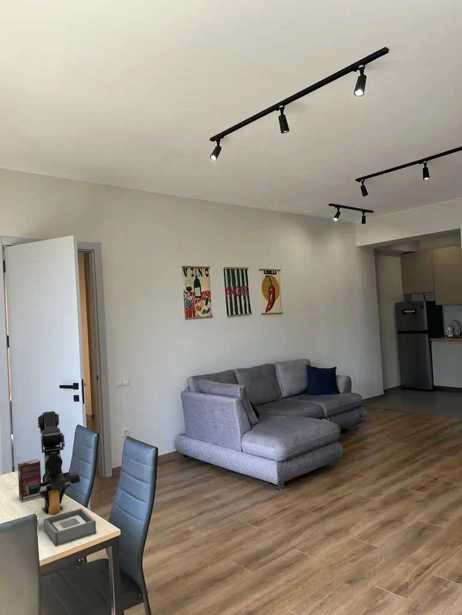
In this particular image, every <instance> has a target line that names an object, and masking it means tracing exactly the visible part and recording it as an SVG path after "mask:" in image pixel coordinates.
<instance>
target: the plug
mask: <svg viewBox="0 0 462 615" xmlns="http://www.w3.org/2000/svg"><path fill="white" fill-rule="evenodd" d="M48 499H49V513H48V515H49V516H56V515H59V514H61V510H60V506H61V504H60V497H59V490H52V491H49V492H48Z"/></svg>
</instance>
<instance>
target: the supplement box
mask: <svg viewBox="0 0 462 615" xmlns="http://www.w3.org/2000/svg"><path fill="white" fill-rule="evenodd" d="M41 469H42V468H41V461H40V460H39V459H34V460H33V459H32V460H28V461H25V462H24V461H23V462H19V463H17V473H18V474H17V477H18V478H17V480H18V499H19V501H20V502H21V503H24V502H28V501H29V502H30V501H32V500H35V499H39V498H41V494H39V492H38V493H34V494H28V493H27V491H26V484H27V483H30V482H34V481H37V482H38V483H42V474H41V473H42V470H41Z"/></svg>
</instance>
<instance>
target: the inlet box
mask: <svg viewBox="0 0 462 615" xmlns="http://www.w3.org/2000/svg"><path fill="white" fill-rule="evenodd" d="M43 531H44V534H46V536H47V537H48V538H49V540H50V541H51V542H52V544H53V545H54V546H55V547H58V546H59V547H60V546H62V545H65V544H68V543H71V542H74V541H78V540H80V539H83V538H86V537H89V536H92V535H95V534H97V524H96V520H95V519H94V518H93V517H92V516H91V515H90V514H89V513H88V512H87V511H85V509H83V508H82V507H81V508H76V509H74V510H70V511H67V512H64V513H59V514H56V515H51V516H50V517H45V518H43Z"/></svg>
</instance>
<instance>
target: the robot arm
mask: <svg viewBox="0 0 462 615" xmlns="http://www.w3.org/2000/svg"><path fill="white" fill-rule="evenodd" d="M59 425H60V414H59V413H56V411H53V410H52V411H44V412H42V414H41V415H39V416H38V417H37V428H38V429H39V432H40V434H41V436H40V445H41V454H44V455H43V456H44V468H43V469H44V473H43V476H42V477H41V483H38V482H37V481H34V482H30V483H27V484H26V491H27V493H28V494H34V493H38V492H39V494H41V497H40V498H41V499H43V500H44V507H42V508H41V509H42V511H43V512H44V513H45V514H46V515H49V499H48V492H49V491H52V490H59V497H60V511H61V510H63V509H64V508H63V507H62V505H61V504H62V502H63V499H64V495H65V493H66V490H67V489H68V488H69V487H71V484H72V485H73V484H77V483H80V482H81V476H80V475H79V474H78V473H76V472H75V471H72V472H70V471H67V472H63V468H62V466H63V459H62V456H61V451H64V448H65V447H66V442H65V435H64V433H63V432H61V430H60V429H61V428H60V427H58V426H59ZM70 483H71V484H70Z"/></svg>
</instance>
